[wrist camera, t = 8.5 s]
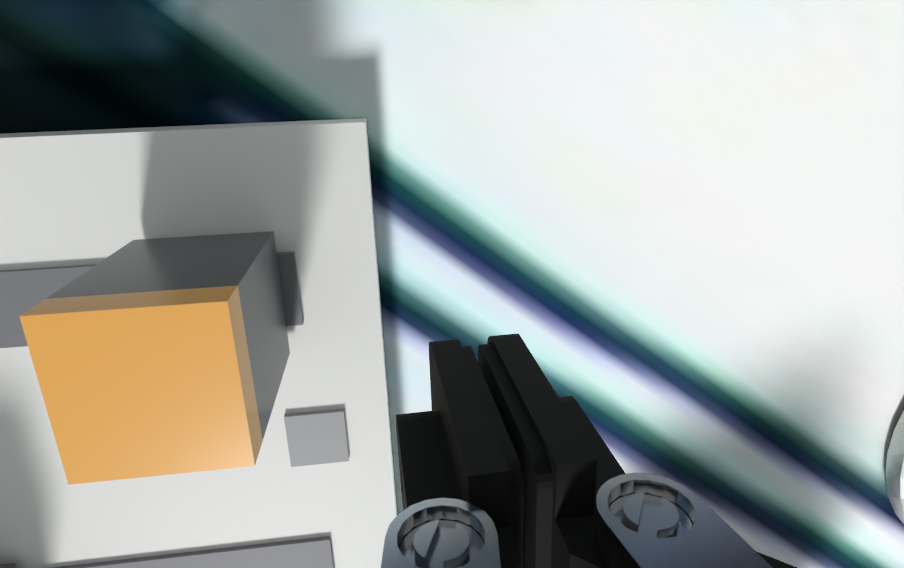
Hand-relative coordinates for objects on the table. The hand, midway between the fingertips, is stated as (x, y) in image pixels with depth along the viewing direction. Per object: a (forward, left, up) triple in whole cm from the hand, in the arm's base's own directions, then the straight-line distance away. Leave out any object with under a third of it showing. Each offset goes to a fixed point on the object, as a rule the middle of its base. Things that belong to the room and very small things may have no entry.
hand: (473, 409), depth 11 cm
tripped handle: (+7, 0, -8) cm, 11 cm away
